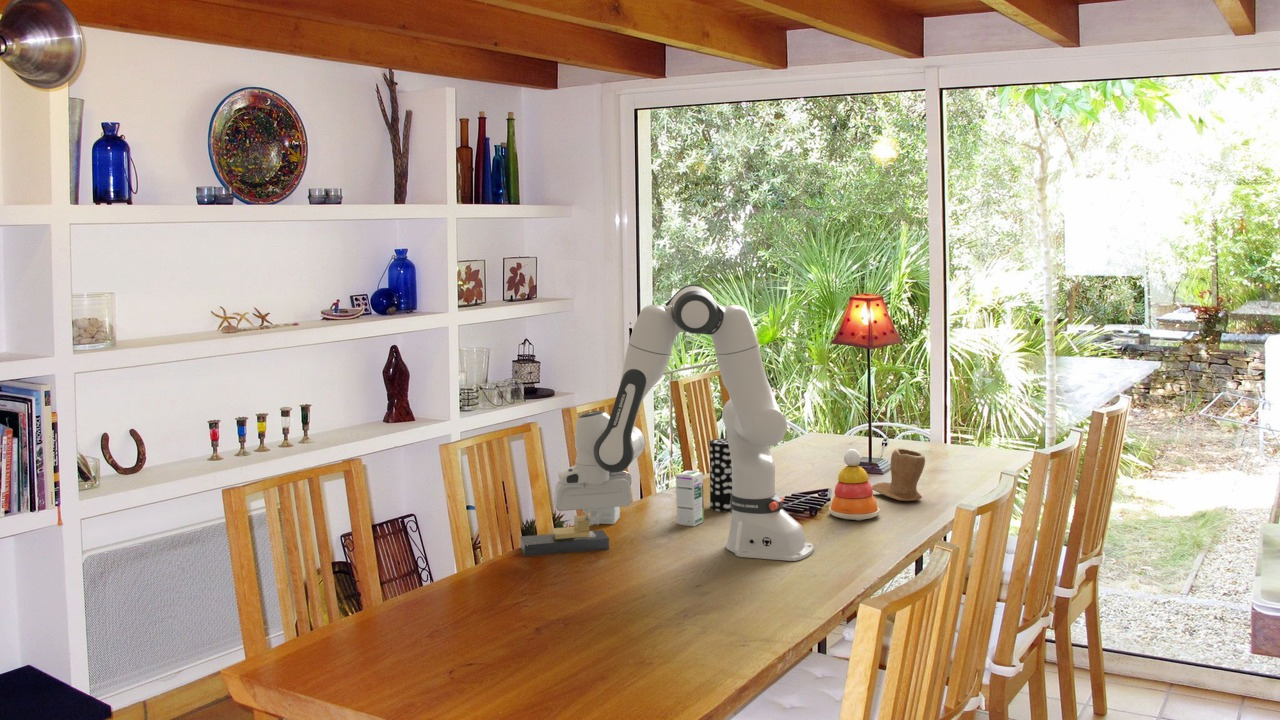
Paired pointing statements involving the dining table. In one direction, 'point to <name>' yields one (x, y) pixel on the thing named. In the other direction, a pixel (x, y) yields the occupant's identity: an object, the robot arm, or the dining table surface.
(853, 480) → the stacking toy
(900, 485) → the brown top hat
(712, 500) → the spotted tube
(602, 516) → the supplement box
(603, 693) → the dining table surface
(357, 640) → the dining table surface
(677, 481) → the syrup box
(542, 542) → the body
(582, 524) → the lever cap
